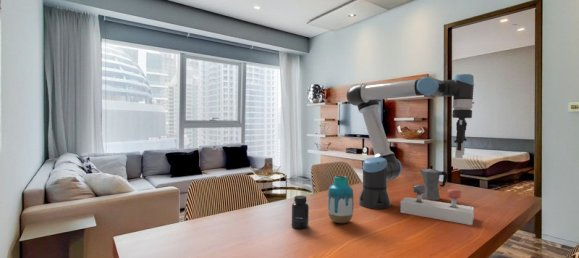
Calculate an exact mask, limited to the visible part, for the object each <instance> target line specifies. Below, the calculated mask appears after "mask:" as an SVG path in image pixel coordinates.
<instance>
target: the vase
mask: <svg viewBox="0 0 579 258" xmlns="http://www.w3.org/2000/svg"><path fill="white" fill-rule="evenodd" d="M327 192H328V193H327V212H328V216H329V219H330V220H331V221H332V222H334V223H337V224H347V223H349V222H350V221H351V220H352V219H353V216H354V215H353V214H354V190H353V188H352V187H351V186H350V185H349V184H348V177H347V175H346V176H345V175H334V177H333V184H331V185H330V186H329V188H328V191H327Z"/></svg>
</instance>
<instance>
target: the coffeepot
mask: <svg viewBox="0 0 579 258" xmlns="http://www.w3.org/2000/svg"><path fill="white" fill-rule="evenodd" d="M433 167H434V165H429V168H426V169H424V168H423V169H419V172H420V173H421V175H422V178H423V180H422V181H423V183H424V184H423V185H424V186H425V193H422V199H423V200H430V201H439V200H440V199H441V198H440V197H441V196H440V192H439V191H440V190H439V187H443V188H444V187H445V185H446V183H447V181H448V178H449V175H448V173H447V172H446V171H442V170H441V171H440V170H437V169H434V168H433ZM440 176H443V180H442V184H439V180H440ZM438 185H439V186H438Z"/></svg>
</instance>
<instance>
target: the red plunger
mask: <svg viewBox="0 0 579 258" xmlns="http://www.w3.org/2000/svg"><path fill="white" fill-rule="evenodd" d="M447 197H448V198H451V202H450V204H451V208H456V209H457V205H458V204H457V203H458V202H457V200H458V199H461V198H462V191H461V189H459V188H447Z"/></svg>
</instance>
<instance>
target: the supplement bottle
mask: <svg viewBox="0 0 579 258" xmlns="http://www.w3.org/2000/svg"><path fill="white" fill-rule="evenodd" d="M307 200H308V199H307V196H305V195H295V196H294V201H293V203H292V205H291V227H292V228H293V229H296V230H305V229H308V227H309V219H310V218H309V213H310V212H309V211H310V207H309V204H308V203H307V202H308V201H307Z"/></svg>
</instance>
